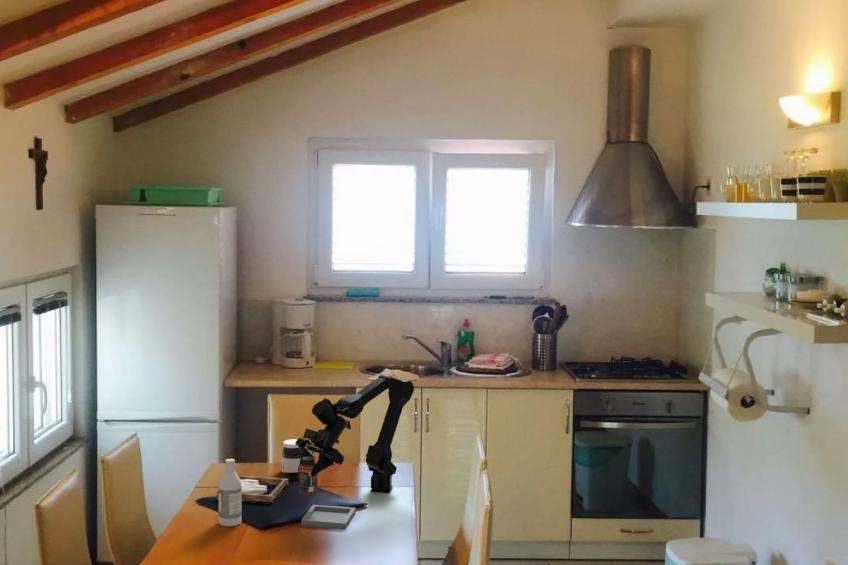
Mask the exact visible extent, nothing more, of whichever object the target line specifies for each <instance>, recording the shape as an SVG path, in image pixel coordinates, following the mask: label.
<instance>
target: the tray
mask: <svg viewBox="0 0 848 565" xmlns="http://www.w3.org/2000/svg"><path fill="white" fill-rule="evenodd" d="M315 510H317V511H315ZM356 510H357V509H356V507H351V506H350V507H349V506H337V505H320V504H312V505H311V507H310V508H309V509H308V510H307V511H306V514H304V516H303V517H302V518H301V521H300V526H302V527H311V528H312V527H313V528H323V529H324V528H325V529H337V530H346V529H347V528H348V527H349V524H350V523H351V521H352V520H353V518H354V516H355V514H356Z"/></svg>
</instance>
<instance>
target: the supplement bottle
mask: <svg viewBox="0 0 848 565" xmlns="http://www.w3.org/2000/svg"><path fill="white" fill-rule="evenodd" d="M314 457H315V456H314ZM314 457H311V456H307V457H303V458H302V464H301V465H300V466H299V475H298V493H300V495H305V496H307V495H308V496H311V495H314V494H316V493H317V492H318V486H319V484H318V480H319V477H318V476H319V473H317V474H316V475H314V476H311V475H310V474H311V472H312V470H313V468H314V466H315V464H316V459H315V458H314Z"/></svg>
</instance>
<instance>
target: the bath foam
mask: <svg viewBox="0 0 848 565" xmlns="http://www.w3.org/2000/svg"><path fill="white" fill-rule="evenodd" d="M224 462H225V464H224V465H225V468H224V469H225V470H224V472H223V474H222V476H221V478H220V480H219V482H218V491H219V500H218V524H219V525H220V526H223V527H235V526H238V525H240V524H241V523H242V520H243V519H242V516H243V515H242V512H243V511H242V510H243V509H242V508H243V507H242V503H243V501H242V484H241V480H240V478H239V476H240V475H238V473H237V472H236V460H235V459H234V458H227V459H225V460H224Z"/></svg>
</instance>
